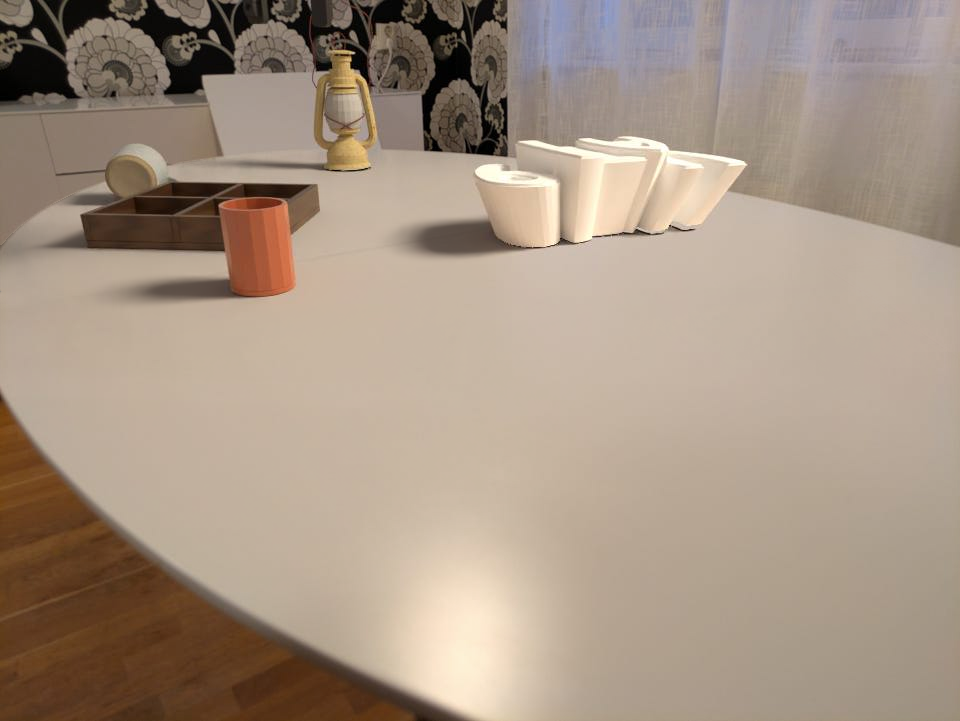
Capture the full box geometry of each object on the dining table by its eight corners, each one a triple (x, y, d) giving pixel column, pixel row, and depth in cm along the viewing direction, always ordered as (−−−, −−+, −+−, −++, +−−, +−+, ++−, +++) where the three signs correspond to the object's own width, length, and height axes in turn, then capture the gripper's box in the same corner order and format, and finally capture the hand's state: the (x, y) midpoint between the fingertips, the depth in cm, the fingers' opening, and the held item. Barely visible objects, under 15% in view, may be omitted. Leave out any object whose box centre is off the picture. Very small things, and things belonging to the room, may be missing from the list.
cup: (221, 295, 62) (207, 209, 59) (244, 276, 68) (233, 196, 65) (284, 297, 62) (274, 211, 59) (303, 277, 68) (294, 197, 64)
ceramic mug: (107, 205, 97) (96, 150, 94) (119, 194, 105) (109, 143, 101) (185, 203, 100) (177, 150, 97) (192, 193, 107) (185, 143, 104)
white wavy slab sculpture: (670, 207, 100) (679, 133, 96) (747, 233, 86) (762, 147, 82) (448, 225, 89) (447, 142, 84) (495, 258, 75) (497, 160, 70)
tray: (87, 247, 77) (79, 214, 76) (172, 208, 97) (168, 181, 95) (271, 251, 76) (267, 218, 75) (320, 211, 96) (317, 184, 94)
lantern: (376, 163, 137) (368, -4, 125) (381, 170, 129) (372, -8, 116) (316, 164, 135) (301, -6, 122) (317, 172, 126) (301, -10, 114)
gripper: (302, -148, 69) (316, 28, 76) (179, -187, 58) (208, 23, 65) (356, -158, 65) (366, 27, 72) (236, -202, 54) (261, 22, 61)
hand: (291, 25), depth 68 cm, fingers open, 8 cm apart
